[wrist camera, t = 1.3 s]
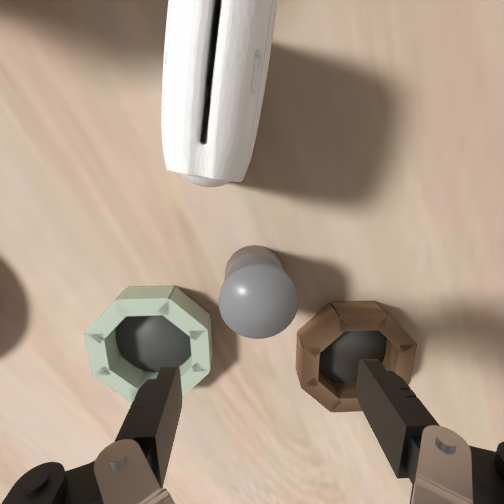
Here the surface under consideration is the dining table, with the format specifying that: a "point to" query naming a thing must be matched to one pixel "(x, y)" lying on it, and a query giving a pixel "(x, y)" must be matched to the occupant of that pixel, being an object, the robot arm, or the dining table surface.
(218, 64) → the photo printer
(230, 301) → the cap
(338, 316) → the walnut ring
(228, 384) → the dining table surface
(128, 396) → the sage ring
